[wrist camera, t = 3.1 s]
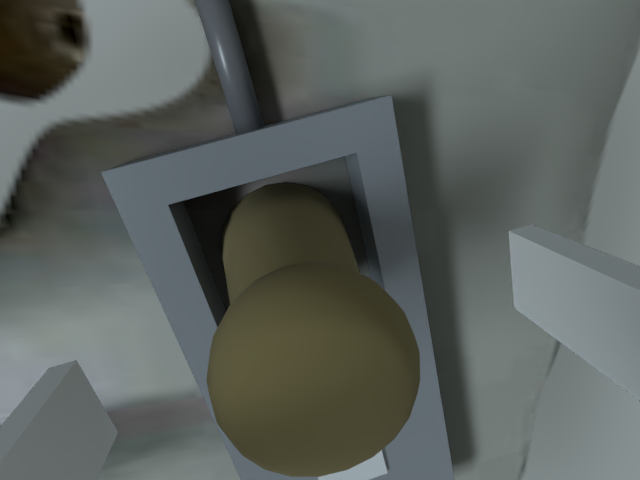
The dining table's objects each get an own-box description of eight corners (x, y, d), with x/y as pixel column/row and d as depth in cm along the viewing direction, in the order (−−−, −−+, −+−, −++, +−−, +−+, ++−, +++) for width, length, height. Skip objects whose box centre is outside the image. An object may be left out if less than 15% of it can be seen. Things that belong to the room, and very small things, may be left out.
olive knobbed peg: (194, 259, 18) (112, 466, 7) (271, 155, 17) (301, 222, 6) (297, 321, 19) (346, 552, 9) (370, 230, 19) (516, 376, 8)
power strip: (46, -17, 13) (-16, -56, 10) (339, -83, 14) (362, -138, 11) (280, 528, 24) (284, 589, 21) (440, 472, 25) (466, 523, 22)
